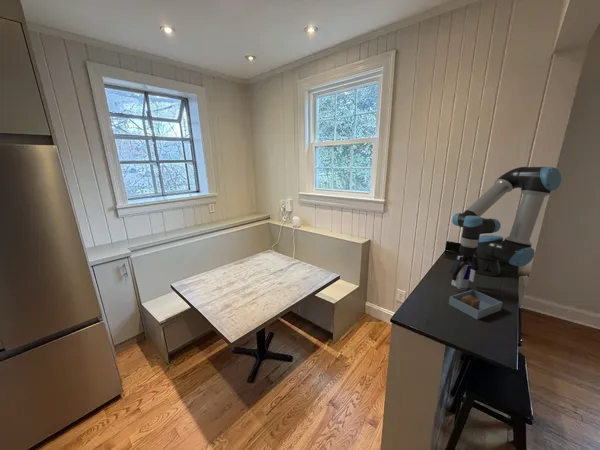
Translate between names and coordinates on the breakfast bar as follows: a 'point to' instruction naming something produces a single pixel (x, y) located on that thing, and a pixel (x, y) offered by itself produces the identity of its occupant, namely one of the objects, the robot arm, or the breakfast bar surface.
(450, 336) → the breakfast bar surface
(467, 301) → the walnut cube
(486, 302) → the tote
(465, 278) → the beverage can
